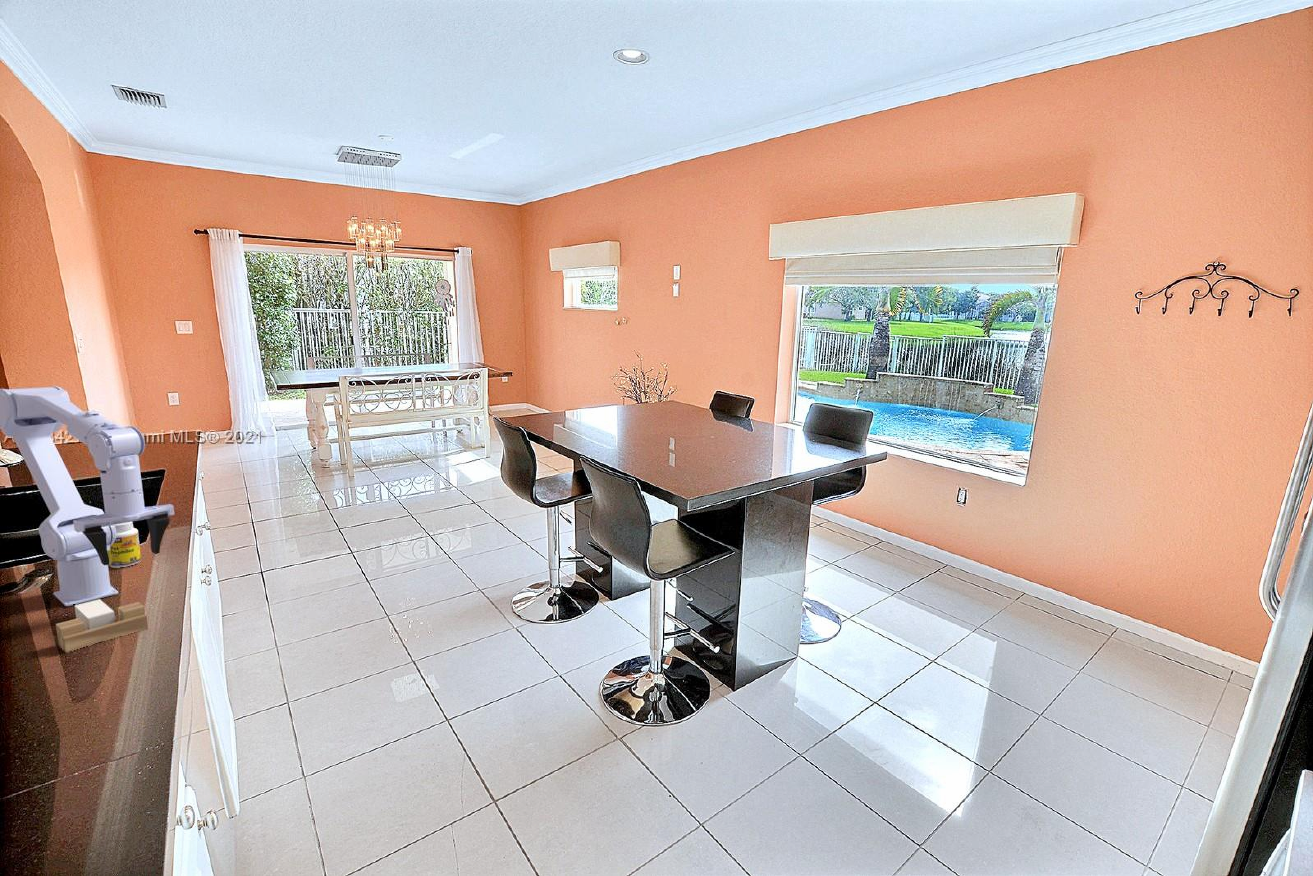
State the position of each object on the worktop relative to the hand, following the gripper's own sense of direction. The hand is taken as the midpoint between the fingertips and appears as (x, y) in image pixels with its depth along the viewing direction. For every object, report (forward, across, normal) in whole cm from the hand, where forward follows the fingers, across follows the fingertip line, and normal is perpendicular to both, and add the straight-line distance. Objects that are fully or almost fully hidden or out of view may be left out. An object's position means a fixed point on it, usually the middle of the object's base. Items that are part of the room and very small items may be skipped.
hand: (131, 558), depth 116 cm
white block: (+10, -7, -4) cm, 13 cm away
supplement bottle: (+10, +6, +30) cm, 32 cm away
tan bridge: (+10, -7, -9) cm, 16 cm away
